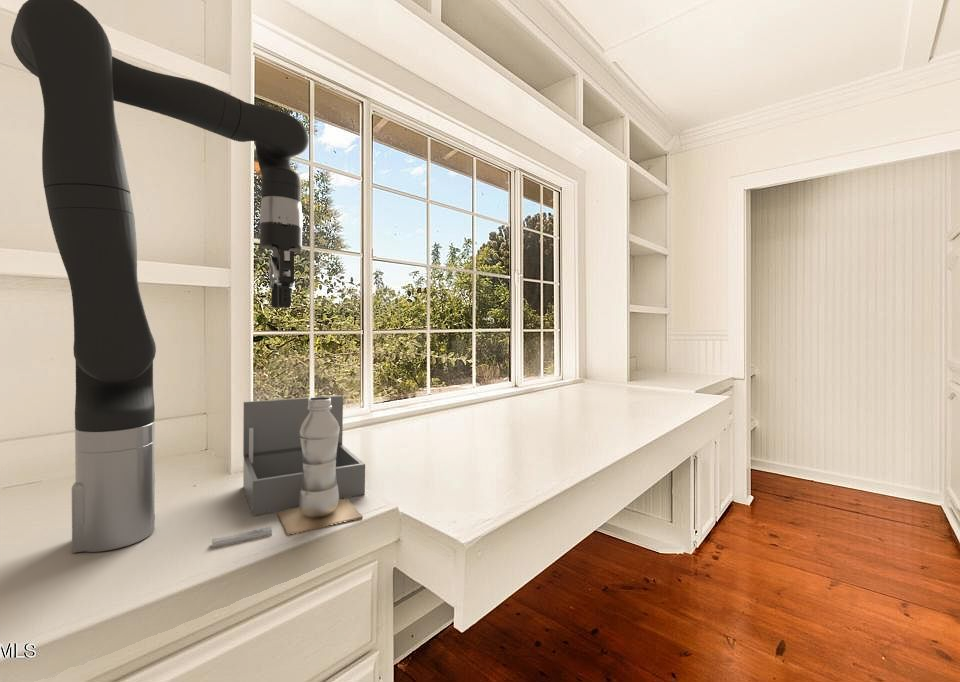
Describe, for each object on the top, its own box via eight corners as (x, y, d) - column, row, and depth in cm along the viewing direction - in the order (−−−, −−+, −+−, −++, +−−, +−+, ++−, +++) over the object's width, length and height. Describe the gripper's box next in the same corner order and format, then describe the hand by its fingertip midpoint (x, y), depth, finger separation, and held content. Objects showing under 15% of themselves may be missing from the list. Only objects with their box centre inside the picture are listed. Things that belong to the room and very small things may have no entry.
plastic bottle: (290, 516, 75) (289, 399, 74) (322, 502, 81) (322, 394, 80) (316, 526, 72) (316, 403, 71) (347, 510, 77) (348, 397, 76)
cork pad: (287, 535, 69) (287, 532, 69) (277, 513, 77) (277, 511, 77) (362, 518, 76) (362, 516, 76) (347, 500, 83) (347, 498, 83)
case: (252, 516, 75) (253, 417, 75) (243, 485, 89) (243, 401, 89) (364, 494, 86) (366, 408, 86) (340, 470, 100) (342, 395, 99)
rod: (212, 550, 65) (212, 542, 65) (211, 547, 66) (212, 539, 66) (272, 537, 69) (272, 529, 69) (270, 534, 70) (270, 526, 70)
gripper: (255, 228, 90) (255, 307, 91) (264, 214, 78) (264, 306, 79) (295, 232, 94) (294, 308, 95) (309, 220, 82) (308, 307, 83)
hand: (280, 307), depth 87 cm, fingers open, 8 cm apart
